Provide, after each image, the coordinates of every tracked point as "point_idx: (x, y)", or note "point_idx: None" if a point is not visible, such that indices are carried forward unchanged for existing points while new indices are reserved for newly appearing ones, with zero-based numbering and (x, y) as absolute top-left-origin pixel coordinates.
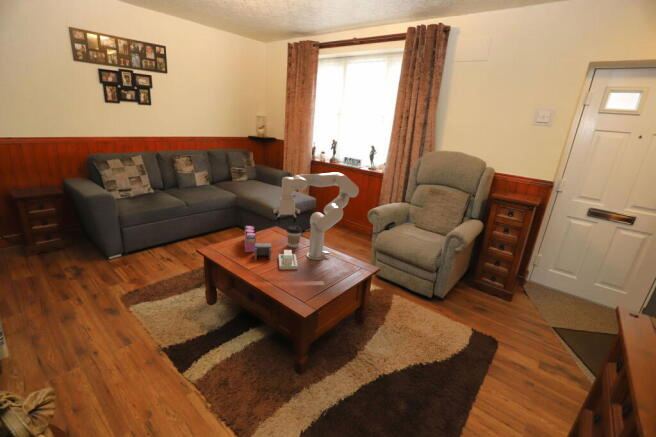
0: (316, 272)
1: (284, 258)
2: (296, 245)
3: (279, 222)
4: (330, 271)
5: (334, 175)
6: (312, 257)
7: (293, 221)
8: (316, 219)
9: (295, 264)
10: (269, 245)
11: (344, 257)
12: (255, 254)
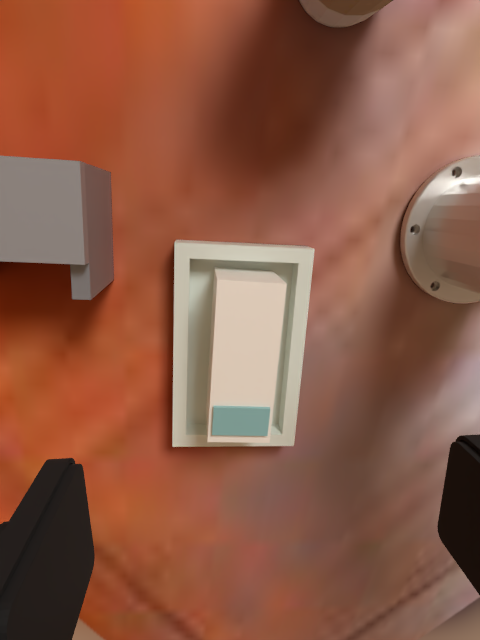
0: (391, 466)
1: (207, 437)
2: (370, 15)
3: (83, 582)
4: None
5: None
6: (435, 281)
7: (463, 540)
8: None
9: (283, 424)
10: (65, 234)
11: None
12: None
